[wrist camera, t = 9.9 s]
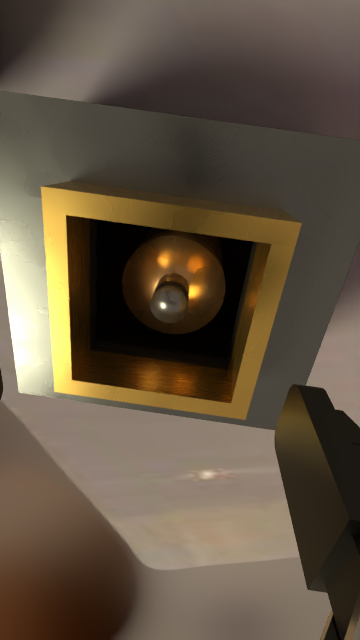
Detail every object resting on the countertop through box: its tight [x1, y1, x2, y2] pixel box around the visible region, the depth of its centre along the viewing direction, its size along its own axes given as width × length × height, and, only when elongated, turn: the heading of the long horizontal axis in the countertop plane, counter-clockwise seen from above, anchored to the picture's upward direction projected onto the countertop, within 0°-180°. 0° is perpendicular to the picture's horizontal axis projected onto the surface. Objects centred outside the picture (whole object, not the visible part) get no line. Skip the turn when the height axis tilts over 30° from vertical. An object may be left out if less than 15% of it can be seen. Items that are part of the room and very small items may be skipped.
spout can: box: [122, 227, 225, 334], centre depth 18 cm, size 5×5×10 cm
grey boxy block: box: [0, 91, 360, 430], centre depth 18 cm, size 14×15×12 cm
